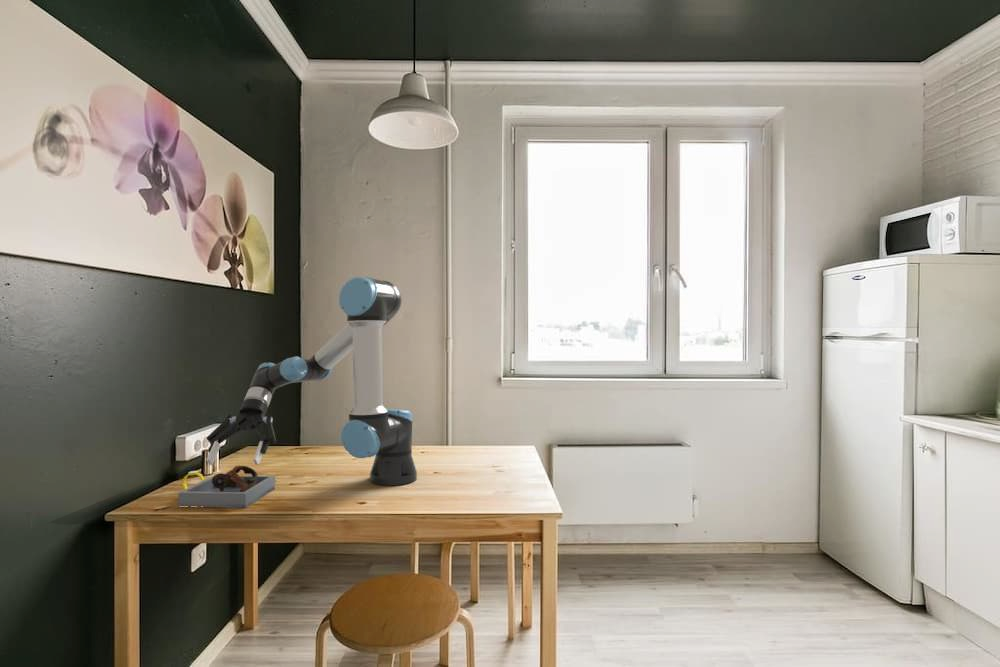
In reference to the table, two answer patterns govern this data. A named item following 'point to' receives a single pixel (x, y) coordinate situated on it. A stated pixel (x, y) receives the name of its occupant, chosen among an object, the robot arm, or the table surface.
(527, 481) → the table surface
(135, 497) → the table surface
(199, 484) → the tray
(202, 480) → the watch
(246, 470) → the broken clay jug
